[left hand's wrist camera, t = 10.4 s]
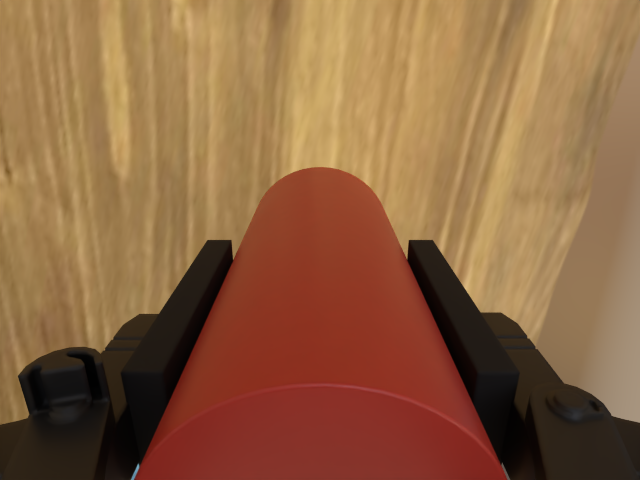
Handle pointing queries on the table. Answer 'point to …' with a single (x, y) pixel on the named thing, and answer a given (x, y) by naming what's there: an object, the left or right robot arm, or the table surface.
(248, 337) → the can
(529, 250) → the table surface
